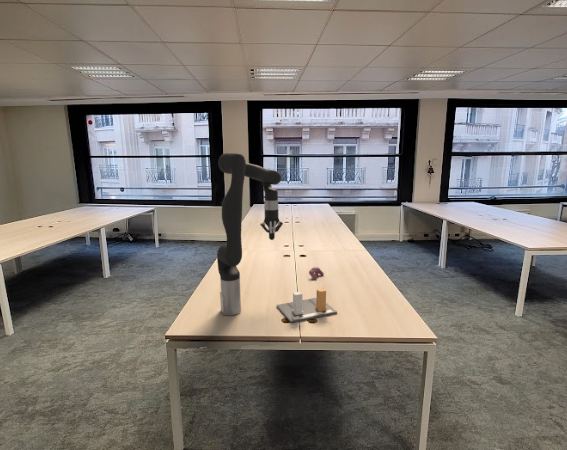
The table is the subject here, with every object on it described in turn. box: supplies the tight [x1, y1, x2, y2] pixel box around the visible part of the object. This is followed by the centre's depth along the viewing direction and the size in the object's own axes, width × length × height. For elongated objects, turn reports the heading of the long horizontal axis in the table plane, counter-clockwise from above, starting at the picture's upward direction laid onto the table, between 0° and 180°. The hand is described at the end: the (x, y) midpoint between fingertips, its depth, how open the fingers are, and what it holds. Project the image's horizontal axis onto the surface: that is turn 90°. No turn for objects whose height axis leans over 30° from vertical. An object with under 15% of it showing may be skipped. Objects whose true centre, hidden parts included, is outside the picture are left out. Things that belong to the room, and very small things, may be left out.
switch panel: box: [276, 297, 338, 324], centre depth 160 cm, size 24×18×1 cm
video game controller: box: [308, 266, 325, 281], centre depth 204 cm, size 10×5×7 cm, turn 142°
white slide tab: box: [292, 291, 303, 315], centre depth 154 cm, size 4×4×10 cm
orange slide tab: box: [315, 288, 327, 312], centre depth 157 cm, size 4×4×10 cm
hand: (271, 239), depth 180 cm, fingers closed
